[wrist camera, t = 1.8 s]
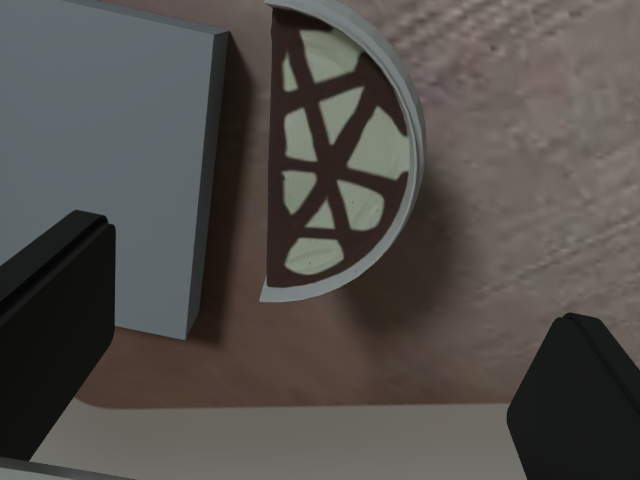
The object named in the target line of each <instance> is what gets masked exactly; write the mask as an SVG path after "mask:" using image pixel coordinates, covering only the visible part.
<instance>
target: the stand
mask: <svg viewBox="0 0 640 480" xmlns="http://www.w3.org/2000/svg"><path fill="white" fill-rule="evenodd" d="M228 38H229V30H225V29H220V28H216V27H212V26H207V25H203V24H198V23H194V22H189V21H185V20H181V19H176V18H172V17H167V16H163V15H159V14H154V13H150V12H145V11H141V10H136V9H132V8H128V7H123V6H119V5H114V4H110V3H105V2H101V1H97V0H0V266H1V265H2V264H3V263H5V262H6V261H7V260H9V259H10V258H11V257H13V256H14V255H15V254H17V253H18V252H19V251H21V250H22V249H23V248H25V247H26V246H27V245H28V244H30V243H31V242H32V241H34V240H35V239H36V238H38V237H39V236H40V235H42V234H43V233H44V232H46V231H47V230H48V229H50V228H51V227H52V226H54V225H55V224H56V223H58V222H59V221H60V220H61V219H63V218H64V217H65V216H67V215H68V214H69V213H71V212H72V211H74V210H81V211H86V212H91V213H96V214H100V215H105V216H106V217H107V219H108V223H109V224H113V225H114V226H115V228H116V269H115V326H118V327H123V328H128V329H133V330H138V331H143V332H148V333H153V334H157V335H162V336H167V337H172V338H177V339H182V340H185V339H186V337H187V335H188V333H189V331H190V329H191V327H192V325H193V323H194V321H195V319H196V317H197V315H198V313H199V308H200V299H201V290H202V280H203V271H204V262H205V252H206V243H207V234H208V225H209V215H210V206H211V197H212V187H213V178H214V169H215V159H216V150H217V141H218V132H219V122H220V113H221V104H222V94H223V85H224V76H225V66H226V57H227V48H228Z"/></svg>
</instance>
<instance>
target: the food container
mask: <svg viewBox="0 0 640 480" xmlns="http://www.w3.org/2000/svg"><path fill="white" fill-rule="evenodd" d="M264 3H265V4H267V5H268V6H270V7H272V8H273V12H272V28H271V37H272V74H271V108H270V137H269V160H268V230H267V275H266V278H265V282H264V286H263V289H262V293H261V297H260V302H287V301H296V300H303V299H307V298H311V297H315V296H319V295H322V294H324V293H327V292H329V291H332V290H334V289H337V288H339V287H341V286H343V285H345V284H346V283H348V282H350V281H352V280H353V279H355V278H357V277H358V276H359V275H361V274H362V273H363V272H364V271H366V270H367V269H368V268H369V267H371V266H372V265H373V264H374V263H375V262H377V261H378V260H379V259H380V258H381V257H382V256H383V255H384V254H385V252H386V251H387V250H388V249H389V248H390V247H391V246H392V245H393V244H394V242H395V241H396V239H397V238H398V236H399V235H400V233H401V232H402V230H403V229H404V227H405V226H406V223H407V221H408V219H409V217H410V215H411V212H412V210H413V208H414V206H415V203H416V200H417V196H418V193H419V189H420V185H421V181H422V178H423V174H424V170H425V159H426V148H427V143H426V129H425V119H424V115H423V111H422V107H421V103H420V99H419V95H418V93H417V90H416V88H415V86H414V83H413V81H412V79H411V76H410V74H409V72H408V70H407V68H406V67H405V65H404V64H403V62H402V61H401V59H400V58H399V56H398V54H397V53H396V51H395V50H394V48H393V47H392V46H391V45H390V44H389V43H388V41H387V40H386V39H385V38H384V37H383V36H382V35H381V34H380V33H379V31H378V30H377V29H376V28H375V27H374V26H372V25H371V24H370V23H369V22H367V21H366V20H365V19H364V18H362V17H361V16H360V15H359V14H357V13H356V12H355V11H354V10H352V9H350V8H349V7H347V6H345V5H343V4H341V3H340V2H338V1H336V0H264Z"/></svg>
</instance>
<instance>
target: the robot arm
mask: <svg viewBox="0 0 640 480" xmlns="http://www.w3.org/2000/svg"><path fill="white" fill-rule="evenodd" d="M115 269H116V228H115V226H114V225H113V224H109V223H108V219H107V217H106V216H105V215H100V214H96V213H91V212H86V211H81V210H74V211H72V212H71V213H69V214H68V215H67V216H65V217H64V218H63V219H61V220H60V221H59V222H58V223H56V224H55V225H54V226H52V227H51V228H50V229H48V230H47V231H46V232H44V233H43V234H42V235H40V236H39V237H38V238H36V239H35V240H34V241H32V242H31V243H30V244H28V245H27V246H26V247H25V248H23V249H22V250H21V251H19V252H18V253H17V254H15V255H14V256H13V257H11V258H10V259H9V260H7V261H6V262H5V263H3V264H2V265H1V266H0V480H135V479H129V478H124V477H118V476H112V475H107V474H102V473H96V472H90V471H84V470H78V469H72V468H66V467H60V466H53V465H48V464H42V463H36V462H29V460H30V459H31V457H32V456H33V454H34V453H35V452H36V450H37V449H38V447H39V446H40V444H41V443H42V442H43V440H44V439H45V437H46V436H47V434H48V433H49V431H50V430H51V429H52V427H53V426H54V424H55V423H56V422H57V420H58V419H59V417H60V416H61V414H62V413H63V411H64V410H65V409H66V407H67V406H68V404H69V403H70V401H71V400H72V399H73V397H74V396H75V394H76V393H77V392H78V390H79V389H80V387H81V386H82V384H83V383H84V382H85V380H86V379H87V377H88V376H89V374H90V373H91V372H92V370H93V369H94V367H95V366H96V364H97V363H98V362H99V360H100V359H101V357H102V356H103V354H104V353H105V352H106V350H107V349H108V347H109V346H110V344H111V341H112V339H113V336H114V330H115ZM507 425H508V428H509V431H510V433H511V436H512V439H513V442H514V444H515V447H516V450H517V452H518V455H519V458H520V461H521V464H522V466H523V469H524V472H525V474H526V477H527V480H640V370H639V369H638V368H637V366H636V365H635V364H634V362H633V361H632V360H631V359H630V357H629V356H628V355H627V353H626V352H625V351H624V350H623V348H622V347H621V346H620V344H619V343H618V342H617V341H616V339H615V338H614V337H613V335H612V334H611V333H610V332H609V330H608V329H607V328H606V326H605V325H604V324H603V323H602V321H601V320H599V319H598V318H595V317H590V316H585V315H580V314H575V313H571V312H570V313H567V314H565V315H564V316H563V317H559V318H557V319H555V320H554V322H553V323H552V325H551V327H550V329H549V331H548V333H547V335H546V337H545V339H544V341H543V343H542V344H541V346H540V348H539V350H538V352H537V354H536V356H535V358H534V360H533V362H532V364H531V366H530V367H529V369H528V371H527V373H526V375H525V377H524V379H523V381H522V383H521V385H520V387H519V388H518V390H517V392H516V394H515V396H514V398H513V400H512V402H511V404H510V406H509V408H508V411H507Z"/></svg>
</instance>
